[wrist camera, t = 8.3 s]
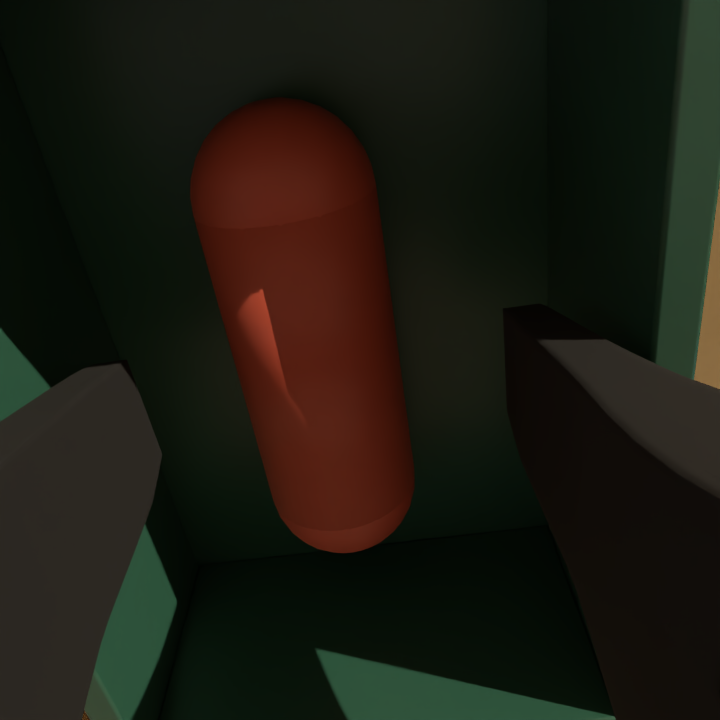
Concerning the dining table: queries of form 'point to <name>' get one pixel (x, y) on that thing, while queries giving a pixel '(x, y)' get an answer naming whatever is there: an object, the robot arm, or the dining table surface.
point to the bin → (410, 309)
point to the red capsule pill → (308, 316)
